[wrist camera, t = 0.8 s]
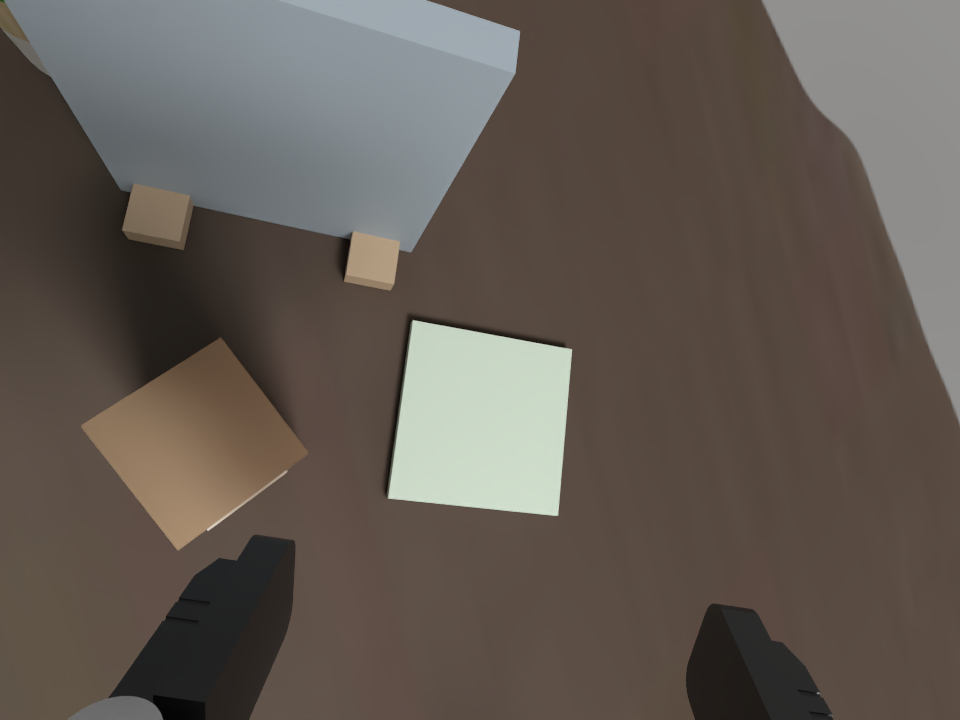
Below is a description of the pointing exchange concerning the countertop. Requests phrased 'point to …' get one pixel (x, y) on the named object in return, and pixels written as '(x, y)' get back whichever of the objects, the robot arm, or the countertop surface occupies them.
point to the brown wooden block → (196, 442)
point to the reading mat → (480, 421)
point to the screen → (278, 110)
